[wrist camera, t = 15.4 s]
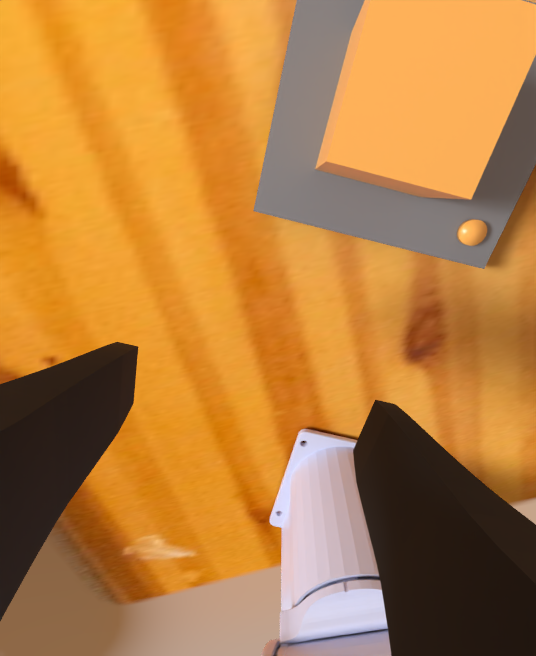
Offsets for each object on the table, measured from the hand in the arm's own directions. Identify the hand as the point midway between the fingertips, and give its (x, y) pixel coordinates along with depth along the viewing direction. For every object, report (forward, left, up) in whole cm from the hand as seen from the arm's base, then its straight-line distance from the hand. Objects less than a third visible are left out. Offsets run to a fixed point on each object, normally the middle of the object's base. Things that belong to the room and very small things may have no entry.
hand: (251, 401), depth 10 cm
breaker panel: (+10, -4, -10) cm, 15 cm away
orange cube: (+10, -3, -9) cm, 13 cm away
